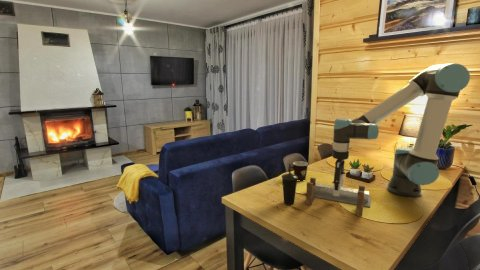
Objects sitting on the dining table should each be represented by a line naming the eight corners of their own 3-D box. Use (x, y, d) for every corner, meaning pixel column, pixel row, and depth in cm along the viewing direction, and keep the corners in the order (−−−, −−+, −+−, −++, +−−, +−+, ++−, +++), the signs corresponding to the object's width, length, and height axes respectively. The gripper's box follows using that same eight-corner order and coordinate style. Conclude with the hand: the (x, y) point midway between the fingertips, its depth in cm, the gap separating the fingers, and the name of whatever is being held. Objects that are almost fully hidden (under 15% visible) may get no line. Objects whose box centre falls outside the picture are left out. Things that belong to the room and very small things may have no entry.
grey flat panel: (371, 197, 131) (371, 196, 131) (370, 207, 120) (370, 206, 120) (311, 187, 145) (311, 186, 145) (305, 195, 134) (305, 194, 134)
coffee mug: (306, 176, 160) (306, 161, 158) (308, 182, 152) (309, 165, 149) (287, 176, 161) (287, 161, 159) (288, 181, 153) (288, 165, 151)
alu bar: (368, 199, 128) (369, 191, 127) (368, 202, 124) (368, 194, 123) (311, 188, 141) (311, 182, 140) (309, 191, 137) (309, 184, 136)
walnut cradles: (363, 208, 120) (365, 185, 118) (361, 216, 113) (363, 192, 111) (310, 197, 131) (310, 177, 129) (306, 204, 124) (306, 183, 122)
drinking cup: (287, 208, 121) (288, 167, 117) (278, 201, 128) (278, 162, 124) (300, 204, 125) (301, 164, 121) (290, 198, 131) (291, 160, 127)
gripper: (336, 143, 140) (334, 181, 144) (328, 155, 119) (326, 199, 123) (351, 145, 136) (348, 183, 141) (345, 157, 115) (342, 202, 120)
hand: (338, 190), depth 132 cm, fingers open, 12 cm apart
